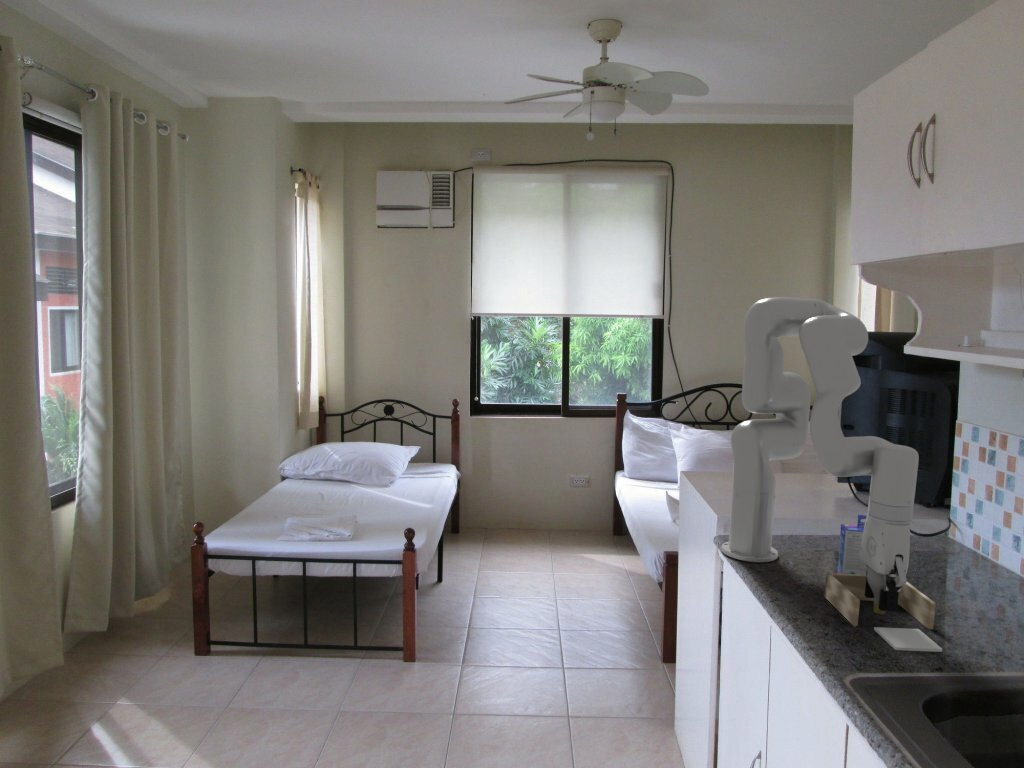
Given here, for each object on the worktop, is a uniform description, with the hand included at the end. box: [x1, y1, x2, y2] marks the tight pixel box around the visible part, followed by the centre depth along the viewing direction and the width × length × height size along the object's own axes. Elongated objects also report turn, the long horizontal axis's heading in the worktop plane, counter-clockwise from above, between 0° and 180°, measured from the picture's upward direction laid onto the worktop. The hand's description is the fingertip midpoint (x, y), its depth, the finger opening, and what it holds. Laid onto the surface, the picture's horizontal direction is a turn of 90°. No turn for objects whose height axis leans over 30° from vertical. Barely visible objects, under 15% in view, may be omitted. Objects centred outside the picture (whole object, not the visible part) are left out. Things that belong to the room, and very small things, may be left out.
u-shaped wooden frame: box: [824, 572, 936, 630], centre depth 149 cm, size 14×15×5 cm
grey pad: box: [873, 626, 943, 653], centre depth 137 cm, size 8×8×1 cm
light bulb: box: [867, 568, 895, 616], centre depth 147 cm, size 6×6×10 cm
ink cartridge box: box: [837, 514, 867, 575], centre depth 163 cm, size 10×6×14 cm, turn 78°
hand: (880, 603), depth 147 cm, fingers closed on light bulb, 5 cm apart
